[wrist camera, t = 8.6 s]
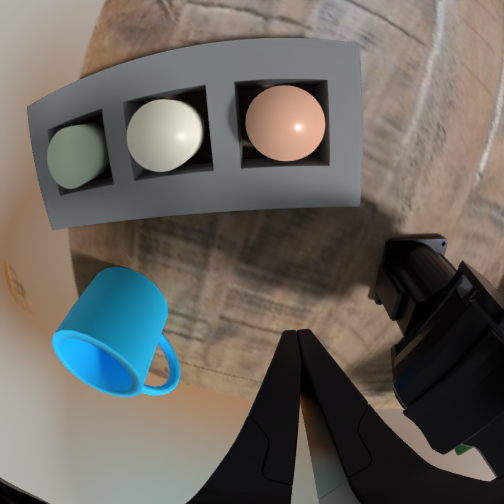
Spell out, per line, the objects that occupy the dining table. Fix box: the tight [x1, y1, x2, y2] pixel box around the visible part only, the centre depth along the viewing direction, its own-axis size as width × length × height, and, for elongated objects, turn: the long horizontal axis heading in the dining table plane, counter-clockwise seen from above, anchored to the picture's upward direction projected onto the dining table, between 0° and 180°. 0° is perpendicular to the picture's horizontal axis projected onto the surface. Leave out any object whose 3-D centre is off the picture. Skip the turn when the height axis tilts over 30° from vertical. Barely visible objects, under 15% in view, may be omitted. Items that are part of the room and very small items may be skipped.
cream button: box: [127, 99, 205, 172], centre depth 14 cm, size 4×4×2 cm
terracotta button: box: [246, 85, 325, 161], centre depth 13 cm, size 4×4×2 cm
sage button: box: [47, 123, 110, 189], centre depth 14 cm, size 4×4×2 cm
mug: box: [52, 267, 180, 397], centre depth 21 cm, size 12×8×8 cm
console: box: [27, 38, 363, 230], centre depth 15 cm, size 22×10×3 cm, turn 94°
